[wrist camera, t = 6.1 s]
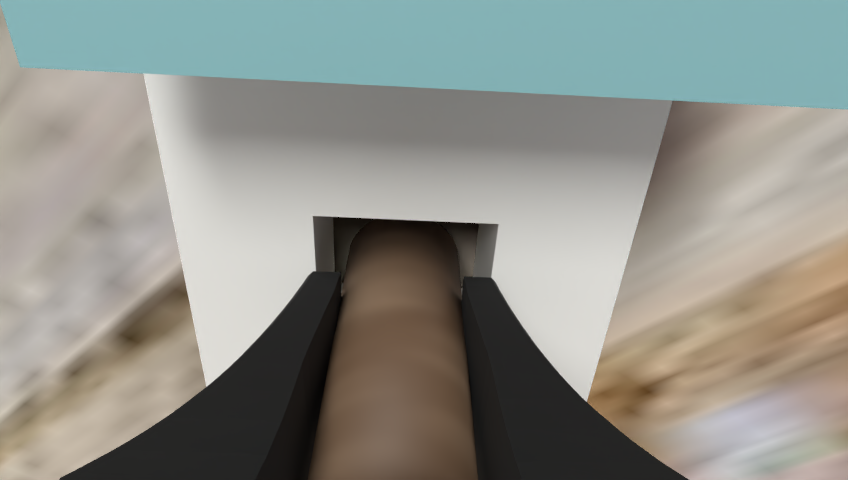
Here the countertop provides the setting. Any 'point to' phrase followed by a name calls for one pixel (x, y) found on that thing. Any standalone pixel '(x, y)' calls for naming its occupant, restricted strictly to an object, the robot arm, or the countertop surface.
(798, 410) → the countertop surface
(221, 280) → the socket block
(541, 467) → the robot arm
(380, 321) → the peg
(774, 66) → the awning
